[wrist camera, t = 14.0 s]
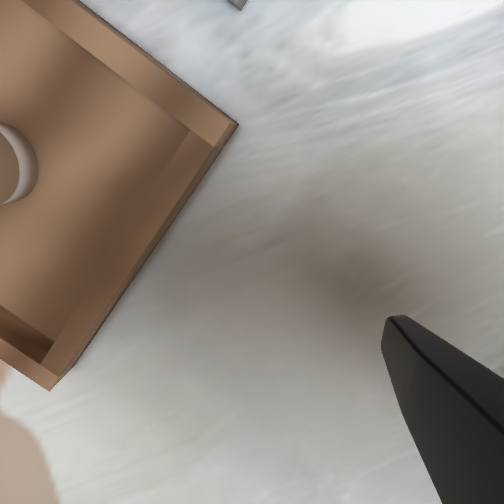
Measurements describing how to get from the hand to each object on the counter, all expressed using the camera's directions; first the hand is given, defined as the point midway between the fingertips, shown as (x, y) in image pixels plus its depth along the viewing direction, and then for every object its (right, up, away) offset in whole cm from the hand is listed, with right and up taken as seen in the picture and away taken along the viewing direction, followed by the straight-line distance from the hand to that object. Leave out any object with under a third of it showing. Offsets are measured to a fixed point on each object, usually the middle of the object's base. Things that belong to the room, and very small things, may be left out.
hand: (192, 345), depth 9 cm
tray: (-11, +7, +12) cm, 18 cm away
